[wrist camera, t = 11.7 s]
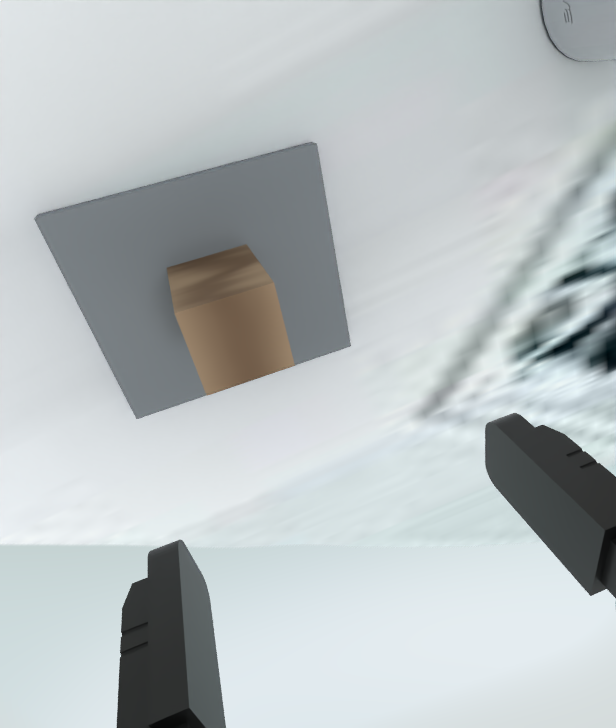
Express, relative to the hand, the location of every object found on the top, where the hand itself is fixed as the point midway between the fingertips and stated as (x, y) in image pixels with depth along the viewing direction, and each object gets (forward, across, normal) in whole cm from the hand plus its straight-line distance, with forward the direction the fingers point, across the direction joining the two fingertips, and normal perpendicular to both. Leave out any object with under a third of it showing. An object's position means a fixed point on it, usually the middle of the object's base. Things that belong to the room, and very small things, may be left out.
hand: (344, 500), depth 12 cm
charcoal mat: (+22, +1, +2) cm, 22 cm away
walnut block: (+21, +1, +2) cm, 21 cm away
